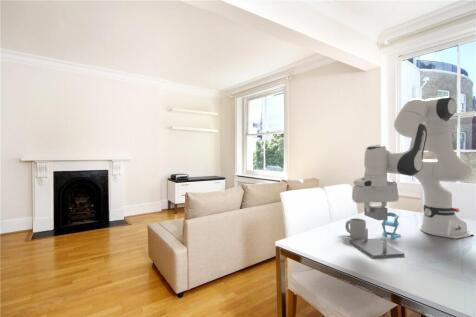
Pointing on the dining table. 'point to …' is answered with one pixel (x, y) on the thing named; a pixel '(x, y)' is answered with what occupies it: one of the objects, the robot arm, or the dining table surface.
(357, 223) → the cup
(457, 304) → the dining table surface
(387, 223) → the chair
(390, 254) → the grey peg base
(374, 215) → the block
